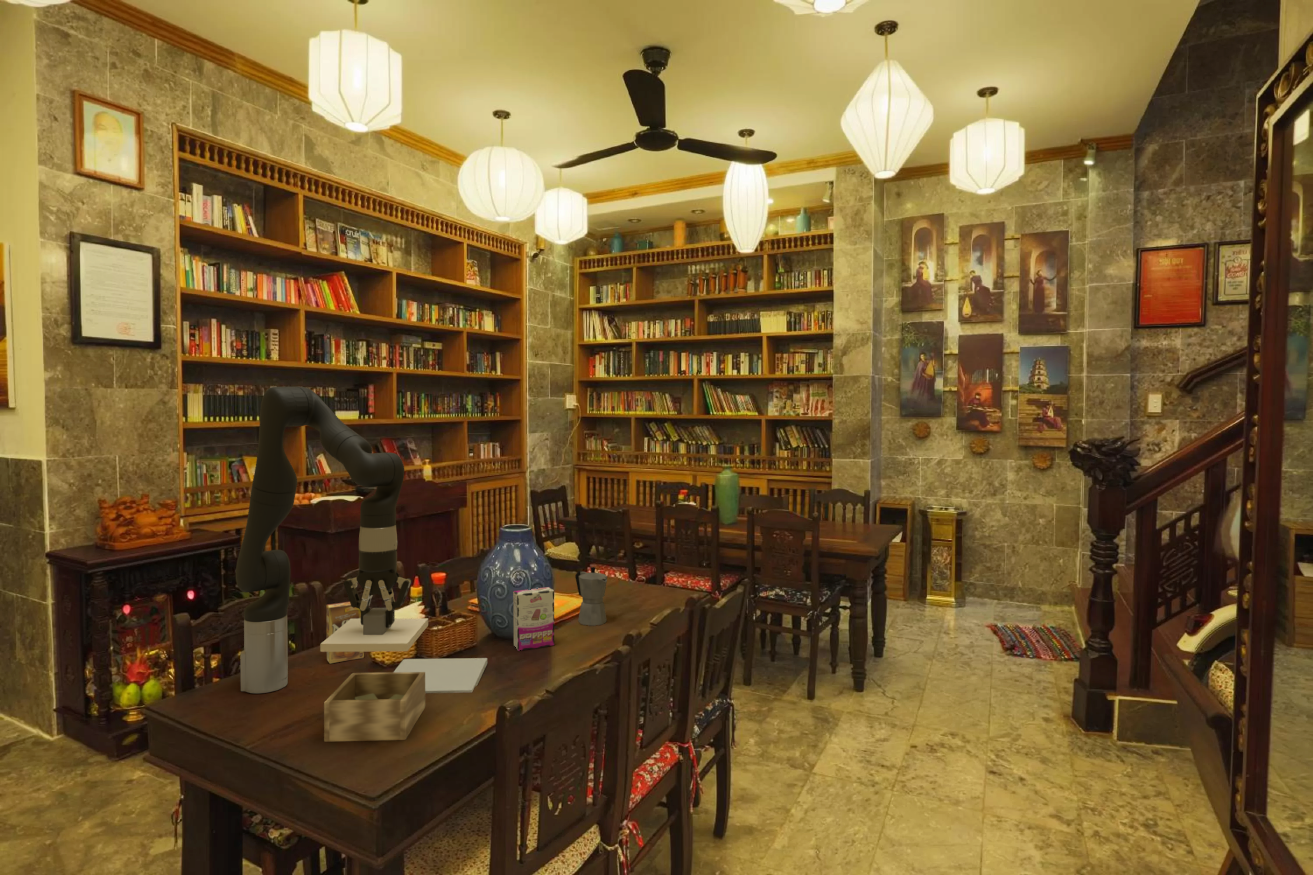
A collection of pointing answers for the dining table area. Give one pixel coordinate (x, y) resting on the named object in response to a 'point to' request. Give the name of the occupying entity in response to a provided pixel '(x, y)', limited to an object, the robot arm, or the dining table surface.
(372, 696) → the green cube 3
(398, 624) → the lid
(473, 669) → the plate
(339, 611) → the candy box
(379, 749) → the dining table surface
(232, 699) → the dining table surface
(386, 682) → the wooden box
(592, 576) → the coffeepot
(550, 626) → the candy bar box
